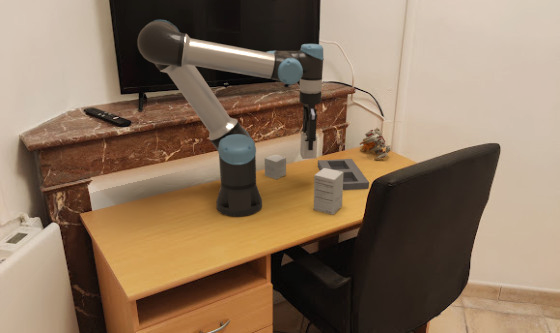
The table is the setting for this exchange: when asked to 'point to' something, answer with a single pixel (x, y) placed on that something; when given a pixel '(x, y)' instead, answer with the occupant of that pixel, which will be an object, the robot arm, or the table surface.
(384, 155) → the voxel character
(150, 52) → the robot arm
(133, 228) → the table surface
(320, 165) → the dark grey compartment tray
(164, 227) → the table surface
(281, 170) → the product box
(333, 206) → the supplement box
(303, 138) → the plug
